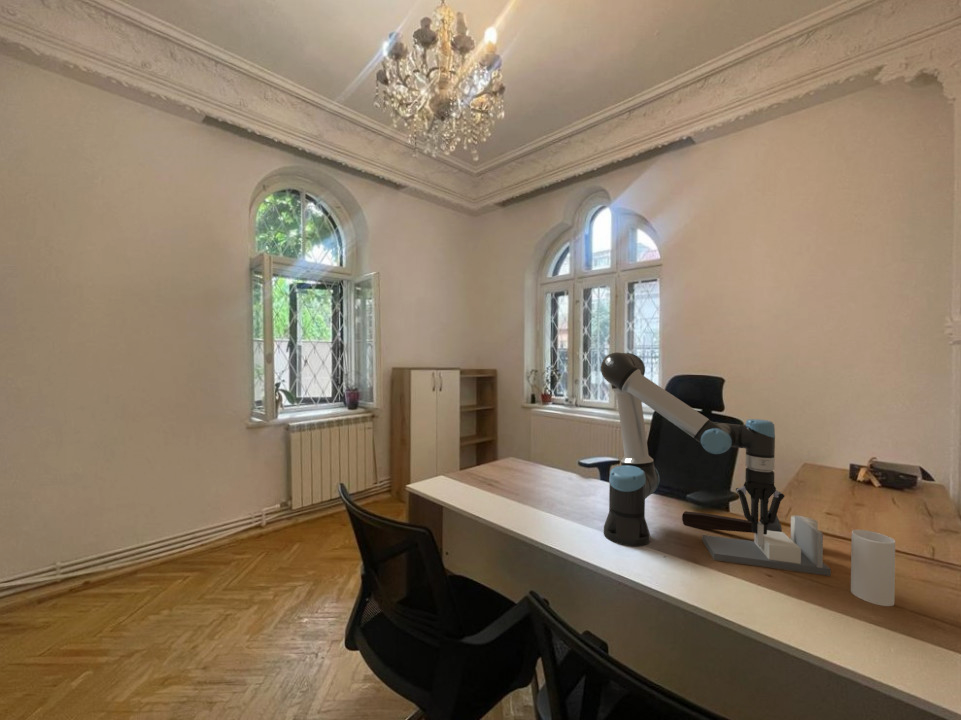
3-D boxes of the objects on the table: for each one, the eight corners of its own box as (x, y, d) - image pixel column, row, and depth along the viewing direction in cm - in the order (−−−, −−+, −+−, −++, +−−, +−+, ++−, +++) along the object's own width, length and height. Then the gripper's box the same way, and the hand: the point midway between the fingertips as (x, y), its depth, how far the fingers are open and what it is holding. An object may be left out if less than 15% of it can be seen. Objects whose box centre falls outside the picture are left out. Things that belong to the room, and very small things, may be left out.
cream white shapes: (796, 549, 132) (797, 522, 132) (786, 540, 138) (787, 514, 138) (821, 552, 130) (822, 525, 130) (810, 543, 136) (811, 517, 136)
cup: (842, 588, 109) (843, 529, 109) (869, 587, 110) (870, 529, 110) (874, 606, 101) (875, 543, 101) (903, 605, 101) (904, 542, 102)
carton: (769, 559, 120) (769, 544, 120) (754, 542, 132) (754, 528, 132) (800, 563, 118) (801, 548, 118) (782, 546, 130) (783, 532, 130)
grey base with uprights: (714, 559, 123) (714, 521, 124) (702, 540, 137) (702, 505, 137) (830, 576, 115) (831, 534, 115) (805, 553, 129) (806, 516, 129)
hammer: (683, 535, 149) (783, 550, 130) (679, 504, 150) (778, 514, 131) (686, 531, 153) (783, 545, 134) (682, 501, 154) (779, 510, 135)
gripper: (740, 470, 125) (739, 545, 124) (789, 474, 121) (788, 552, 121) (732, 464, 132) (731, 536, 132) (778, 467, 128) (777, 541, 128)
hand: (759, 543), depth 126 cm, fingers closed
